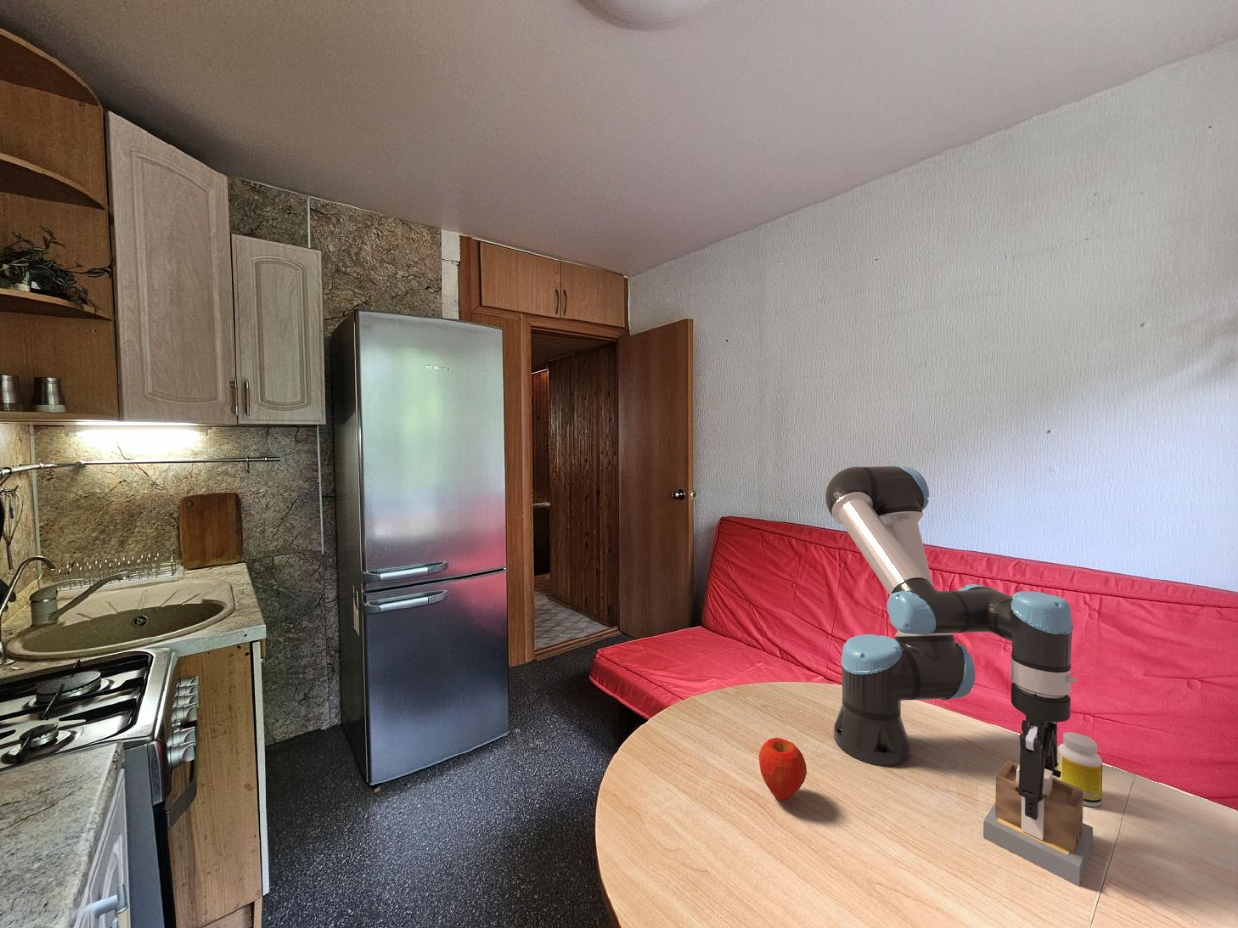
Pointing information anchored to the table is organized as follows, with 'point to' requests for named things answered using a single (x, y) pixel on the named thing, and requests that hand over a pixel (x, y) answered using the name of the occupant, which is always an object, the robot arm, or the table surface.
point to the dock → (1040, 848)
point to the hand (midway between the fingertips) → (1038, 822)
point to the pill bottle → (1081, 766)
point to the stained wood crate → (1058, 808)
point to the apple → (782, 768)
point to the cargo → (1046, 783)
